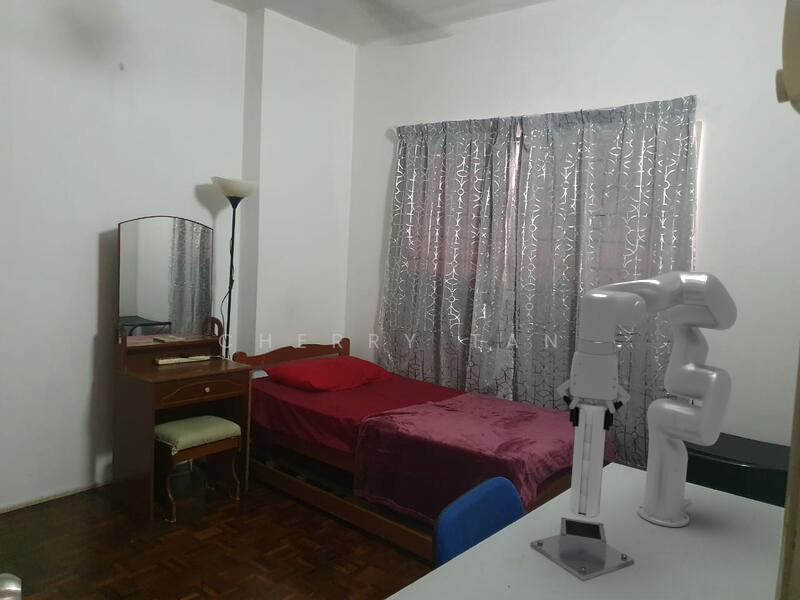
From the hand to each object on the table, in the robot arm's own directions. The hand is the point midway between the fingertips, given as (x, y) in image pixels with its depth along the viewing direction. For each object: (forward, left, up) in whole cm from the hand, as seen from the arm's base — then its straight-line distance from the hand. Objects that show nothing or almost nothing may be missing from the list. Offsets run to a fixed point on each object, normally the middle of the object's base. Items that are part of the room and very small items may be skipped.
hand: (590, 426), depth 131 cm
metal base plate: (0, 0, -30) cm, 30 cm away
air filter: (0, 0, -20) cm, 20 cm away
